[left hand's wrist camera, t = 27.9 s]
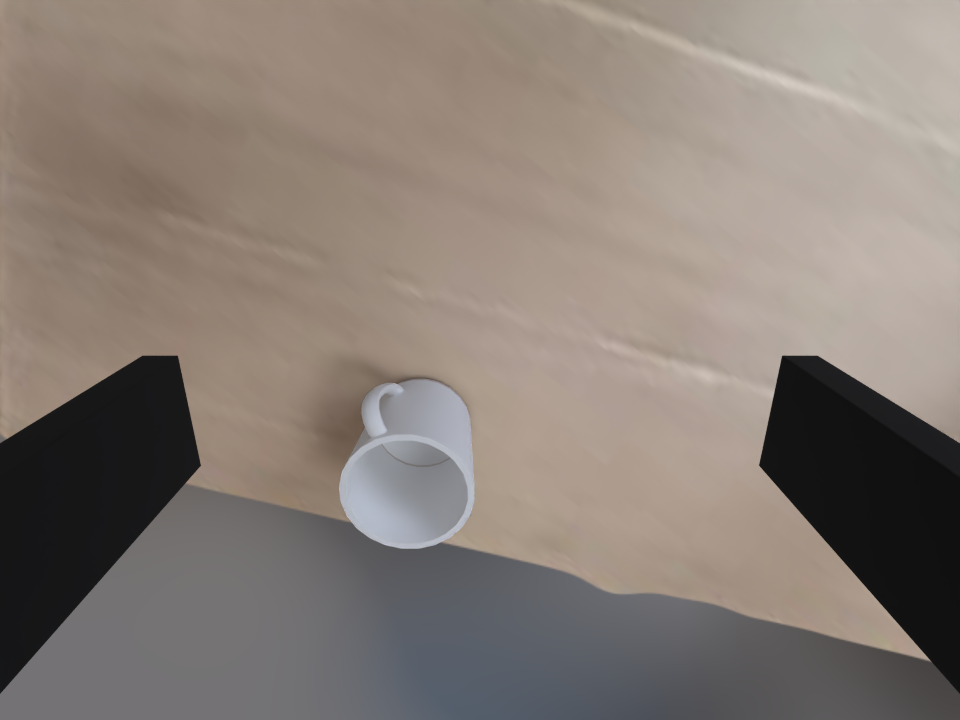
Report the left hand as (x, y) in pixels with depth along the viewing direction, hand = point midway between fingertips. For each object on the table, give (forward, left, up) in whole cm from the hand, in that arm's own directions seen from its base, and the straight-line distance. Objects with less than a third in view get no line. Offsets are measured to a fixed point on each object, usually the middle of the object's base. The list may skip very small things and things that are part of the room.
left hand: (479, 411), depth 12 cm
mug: (+4, -15, -30) cm, 34 cm away
